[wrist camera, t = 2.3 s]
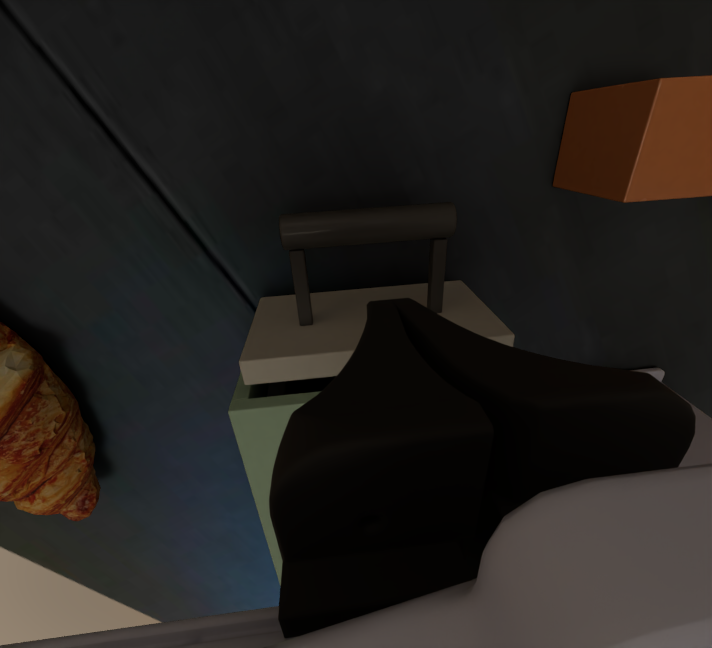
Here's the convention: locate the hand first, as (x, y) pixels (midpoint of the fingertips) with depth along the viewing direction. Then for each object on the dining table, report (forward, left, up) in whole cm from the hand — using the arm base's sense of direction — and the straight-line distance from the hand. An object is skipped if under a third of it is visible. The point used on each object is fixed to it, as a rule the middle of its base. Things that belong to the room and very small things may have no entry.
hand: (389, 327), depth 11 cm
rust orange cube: (-13, -4, -9) cm, 16 cm away
